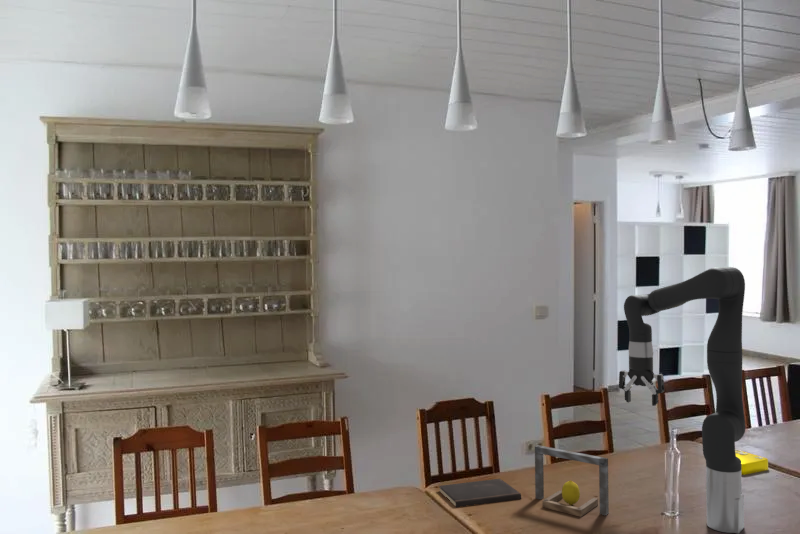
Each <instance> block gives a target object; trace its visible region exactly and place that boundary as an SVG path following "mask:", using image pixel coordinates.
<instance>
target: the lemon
mask: <svg viewBox="0 0 800 534" xmlns="http://www.w3.org/2000/svg"><path fill="white" fill-rule="evenodd" d="M561 490H562V497H563V498H562V499H563V501H564V502H565V503H567V505H570V506H573V505H574V504H577V503H578V501H579V499H580V495H581V493H580V488H579V485H578V484H577V483H576V482H574V481H572V480H569V481H566V482H564V483H563V485H562V488H561Z"/></svg>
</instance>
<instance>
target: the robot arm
mask: <svg viewBox="0 0 800 534" xmlns="http://www.w3.org/2000/svg"><path fill="white" fill-rule="evenodd" d="M745 291H746V281H745V277H744V274H743V272H742V271H741V270H740V269H738V268H737V267H734V266H733V267H732V266H716V267H715V266H714V267H711V268H708V269H706V270H704V271H703V272H700V273H698V274H697V275H694V276H693V277H691V278H688V279H686V280H683V281H681V282H678V283H675V284H671V285H668V286H667V285H666V286H663V287H660V288H657V289H656V288H655V289H654V290H652V291H651V292H650V293H648V294H647V293H646V294H632V295H629V296H627V297H626V299H625V300H624V303H623V311H624V312H623V313H624V315H625V319H626V322H627V326H628V329H629V330H628V331H629V333H628V334H629V337H628V338H629V339H628V340H629V342H628V371H626V370H625V369H622V370H621V371H619V374H618V376H619V377H618V389H620V390H621V389H622V390H623V391H624V400H625V401H626V403H631V402H632V395H631V393H632V391H631V389H632V388H633V386H641V387H647V389H648V390H650V391H651V393H652V394H651V405H652V407H655V406H657V404H658V403H659V394H663V393H664V392H665V381H664V379H665V378H664V375H663V373H659V374H657V373H654V348H653V329H652V325H651V324H650V323H645V322H644V320H643V317H644V316H645V317H647V316H652V315H656V314H658V313H660V312H661V311H662V312H663V311H666V310H671V309H675V308H677V307H680V306H683V305H684V304H686V303H688V302H690V301H695V300H704V299H705V300H706V299H713V300H718V313H717V317H716V321H715V323H714V326H713V327H712V330H711V332H710V334H709V337H708V340H707V342H706V343H707V345H706V363H707V370H708V373H709V376H710V378H711V380H712V383H713V385H714V389H715V394H716V397H715V398H716V403H715V404H716V405H715V412H714V413H711V414H709V415H707V416H706V417H704V419H703V421H702V425H701V436H702V437H701V441H702V442H701V443H702V455H703V457H704V460H705V482H706V483H705V485H706V488H705V489H706V492H705V493H706V496H705V497H706V501H705V503H706V516H705V517H706V525H707V527H709V528H710V529H711V530H715V531H718V532H722V533H728V534H731V533H733V534H734V533H735V534H741V532H742V531H743V529H744V528H745V501H744V500H745V495H744V494H743V493H742V492H743V491H742V489H743V488H742V487H743V484H742V483H743V482H742V475H741V460H740V459H739V458H738V457H736V454H735V449H736V442H738V441H740V440H741V439H743V437H744V434H745V432H746V419H745V411H744V404H743V311H744V310H743V309H744V303H745V301H744V300H745V293H746V292H745ZM627 377H628V378H629V379H630V380H629V382H627V384H626V378H627ZM654 379H655V381H656V384H657V387H656V384H655V383H654V382H653V380H654Z"/></svg>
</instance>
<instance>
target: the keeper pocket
mask: <svg viewBox="0 0 800 534" xmlns="http://www.w3.org/2000/svg"><path fill="white" fill-rule="evenodd" d="M544 455H545V456H551V457H556V458H561V459H566V460H570V461H575V462H580V463H585V464H591V465H596V466H598V478H599V479H598V481H599V483H598V485H599V486H598V487H599V491H598V492H599V499H598V498H596V497H592V498H591V499H589V500H588V501H586V502H585V503H583V504H582V505H581V506H578V507H577V506H573V505H572V506H570V505H569V504H565V503H561V502H559V501H561V500H562V499H563V497H562V489H560V490H558V491H556V492H555V493H553V494H551V495H549V496H547V497H546V498H545V495H544V494H545V490H544V488H545V487H544V483H545V480H544V477H545V475H544ZM534 479H535V480H534V485H535V486H534V488H535V491H534V492H535V493H534V495H535V496H534V497H535V499H537V500H542V504H541V505H542V508H545V509H549V510H553V511H557V512H561V513H563V514H564V513H565V514H569V515H572V516H577V517H580V518H581V517H584V516H585V515H586V514H588V513H589V512H590V511H592V510H593V509H595V508H596V507H597V506H599V515H601V514H602V516H605V515H606V516H608V515H609V512H610V511H609V510H610V509H609V501H610V500H609V458H607V457H602V456H597V455H592V454H587V453H582V452H575V451H569V450H565V449H559V448H554V447H551V446H545V445H544V446H543V445H540V444H539V445H535V446H534ZM607 514H608V515H607Z"/></svg>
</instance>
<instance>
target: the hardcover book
mask: <svg viewBox="0 0 800 534" xmlns="http://www.w3.org/2000/svg"><path fill="white" fill-rule="evenodd" d="M438 487H439V492H440V493H441V494H442V495H443V496H444V497H445V498H446V497H447V498H448V499H449V500H450V501H449V500H448V499H447V498H446V499H447V500H448V501H449V502H450V503H452V505H454V506H455V508H461V507H460V506H463V507H467V506H466V505H471V506H475V505H474V504H479V505H484V503H486V504H493V503H501V502H508V501H509V502H510V501H516V500H522V494H521V492H519V491H518V490H516V489H515V488H514V487H513V486H511V485H510V484H508V483H507V482H505V481H504V480H503V479H501V478H493V479H486V480H485V479H484V480H476V481H468V482H467V481H466V482H459V483H452V484H444V485H443V484H442V485H438Z"/></svg>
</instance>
